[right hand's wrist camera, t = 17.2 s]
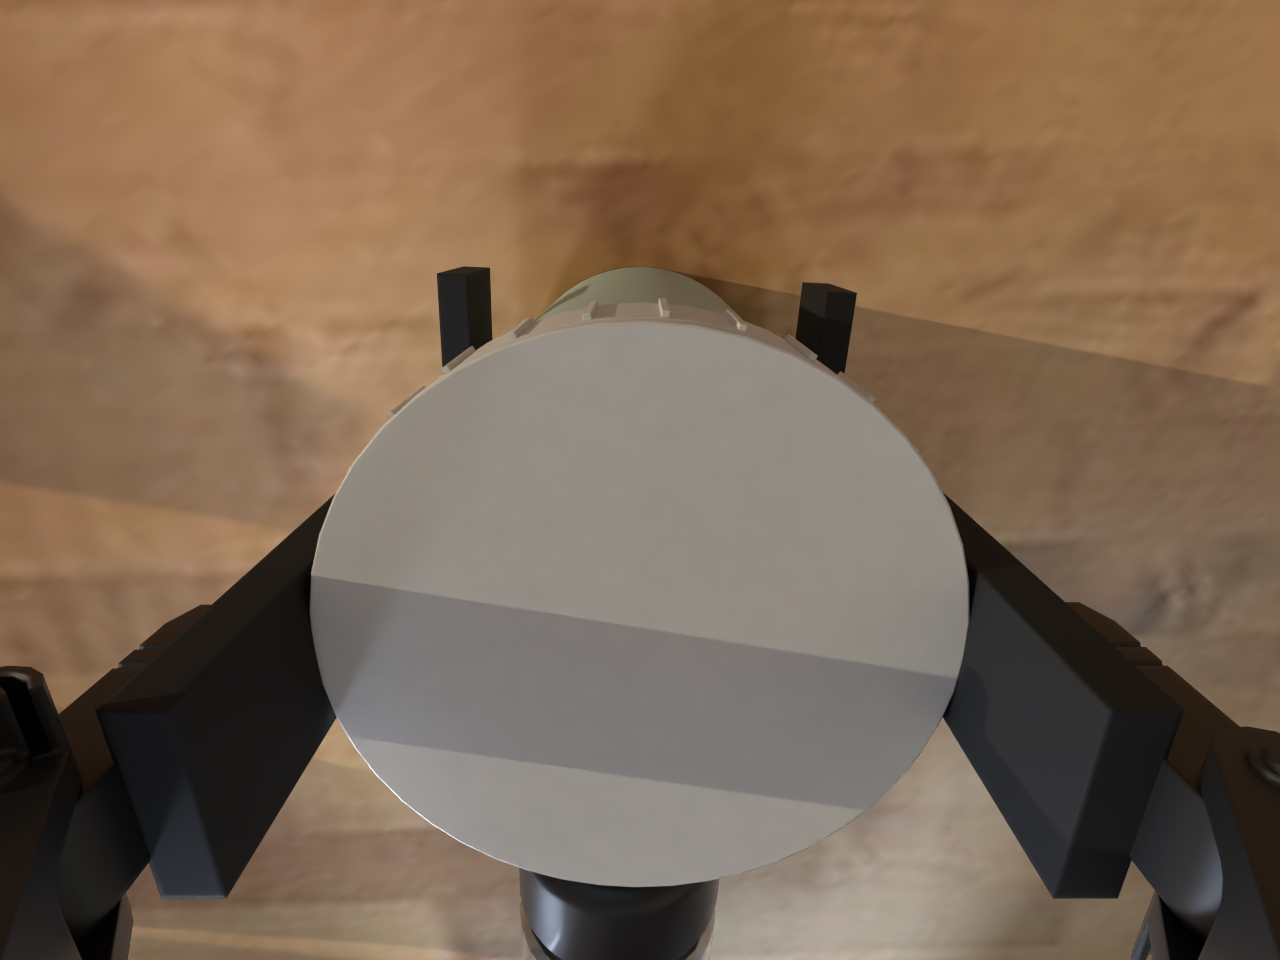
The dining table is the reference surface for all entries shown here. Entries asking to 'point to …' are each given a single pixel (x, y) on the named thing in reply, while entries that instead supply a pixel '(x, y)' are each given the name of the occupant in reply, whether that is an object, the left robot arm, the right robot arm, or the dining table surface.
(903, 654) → the lid
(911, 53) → the dining table surface
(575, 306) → the jar
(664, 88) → the dining table surface
